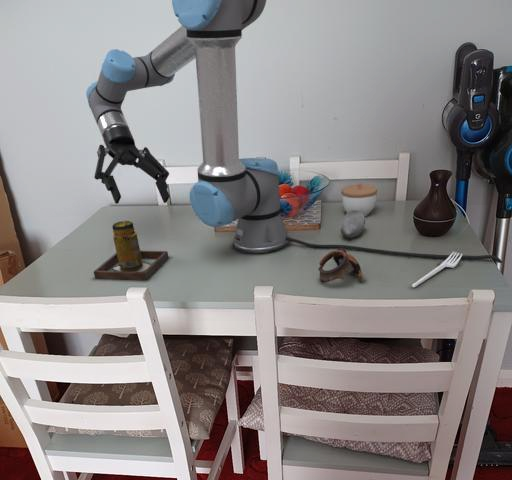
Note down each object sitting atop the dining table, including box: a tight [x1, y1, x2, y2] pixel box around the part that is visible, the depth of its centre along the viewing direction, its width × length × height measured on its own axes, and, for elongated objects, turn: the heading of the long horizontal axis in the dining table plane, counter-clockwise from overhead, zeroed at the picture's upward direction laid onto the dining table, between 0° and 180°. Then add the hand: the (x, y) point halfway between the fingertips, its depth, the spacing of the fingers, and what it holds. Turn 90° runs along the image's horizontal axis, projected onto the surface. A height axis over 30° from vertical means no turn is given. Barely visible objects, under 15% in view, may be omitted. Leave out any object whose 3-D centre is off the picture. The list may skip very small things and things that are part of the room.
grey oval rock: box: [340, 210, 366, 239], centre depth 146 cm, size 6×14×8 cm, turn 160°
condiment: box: [111, 220, 151, 272], centre depth 136 cm, size 7×8×12 cm
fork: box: [411, 251, 463, 288], centre depth 122 cm, size 3×20×2 cm, turn 135°
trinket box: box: [341, 182, 378, 217], centre depth 160 cm, size 11×11×9 cm
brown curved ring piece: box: [318, 248, 364, 283], centre depth 123 cm, size 12×10×8 cm
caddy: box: [93, 250, 169, 281], centre depth 139 cm, size 15×15×2 cm
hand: (143, 200), depth 134 cm, fingers open, 13 cm apart
